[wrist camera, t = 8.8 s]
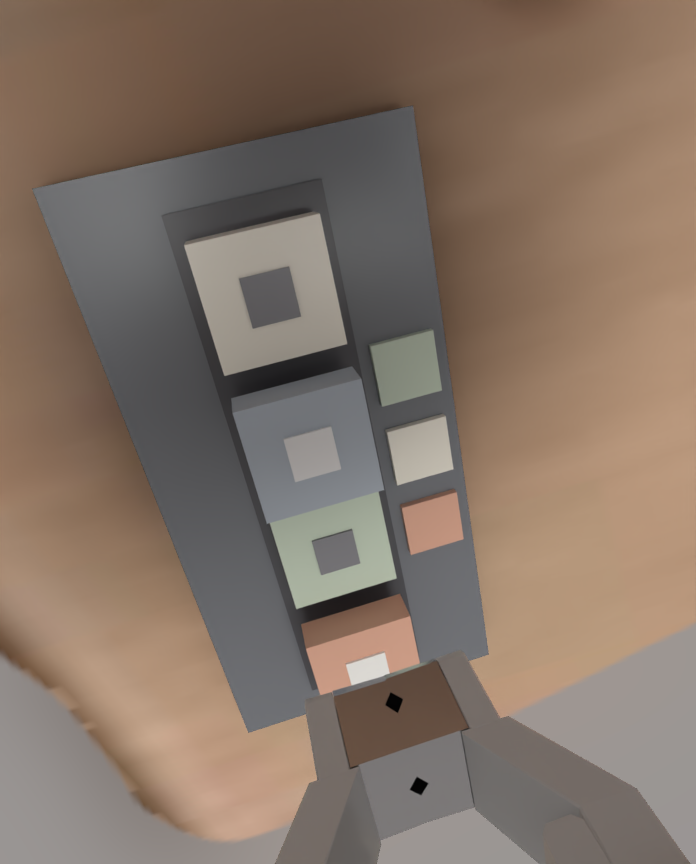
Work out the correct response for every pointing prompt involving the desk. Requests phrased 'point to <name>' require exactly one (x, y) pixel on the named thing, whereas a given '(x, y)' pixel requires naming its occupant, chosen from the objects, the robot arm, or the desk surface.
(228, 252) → the cream key
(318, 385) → the slate key
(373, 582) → the sage key
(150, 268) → the keypad base
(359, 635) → the terracotta key
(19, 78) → the desk surface
